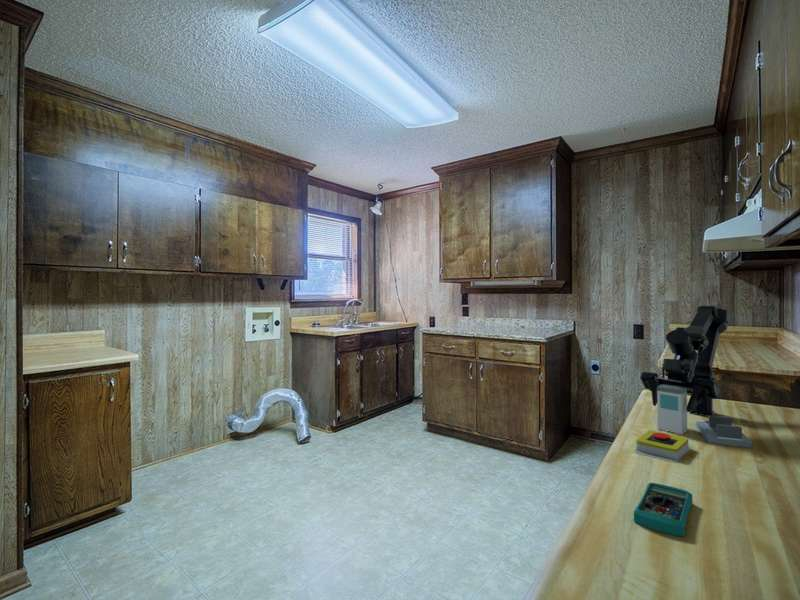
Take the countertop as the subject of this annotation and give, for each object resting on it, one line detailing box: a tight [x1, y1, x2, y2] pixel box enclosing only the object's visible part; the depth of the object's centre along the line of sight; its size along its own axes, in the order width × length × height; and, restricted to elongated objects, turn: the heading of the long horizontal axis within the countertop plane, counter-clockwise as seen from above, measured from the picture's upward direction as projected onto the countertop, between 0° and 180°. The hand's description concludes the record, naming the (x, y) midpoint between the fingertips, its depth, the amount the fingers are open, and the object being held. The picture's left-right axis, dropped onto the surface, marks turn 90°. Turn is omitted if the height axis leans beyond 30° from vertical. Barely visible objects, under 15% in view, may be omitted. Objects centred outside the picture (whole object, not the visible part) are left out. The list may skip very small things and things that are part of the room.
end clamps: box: [708, 415, 743, 439], centre depth 110 cm, size 10×5×3 cm, turn 154°
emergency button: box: [633, 430, 692, 463], centre depth 104 cm, size 9×4×15 cm
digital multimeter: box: [633, 482, 693, 538], centre depth 74 cm, size 7×15×3 cm, turn 140°
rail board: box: [695, 420, 753, 449], centre depth 112 cm, size 15×9×2 cm, turn 154°
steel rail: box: [703, 420, 742, 441], centre depth 112 cm, size 15×5×1 cm, turn 154°
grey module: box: [656, 384, 688, 435], centre depth 118 cm, size 5×6×12 cm
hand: (670, 408), depth 117 cm, fingers open, 8 cm apart
